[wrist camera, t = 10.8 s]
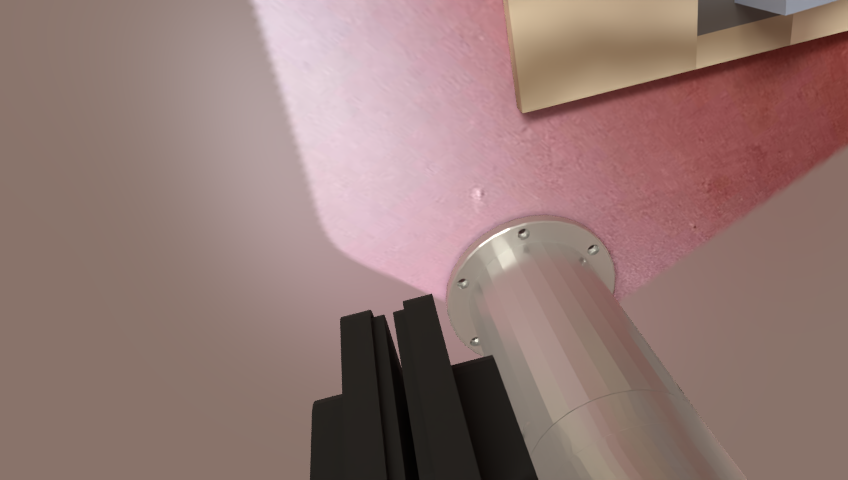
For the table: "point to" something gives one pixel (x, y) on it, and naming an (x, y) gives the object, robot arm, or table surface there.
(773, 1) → the t block
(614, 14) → the board
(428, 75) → the table surface
